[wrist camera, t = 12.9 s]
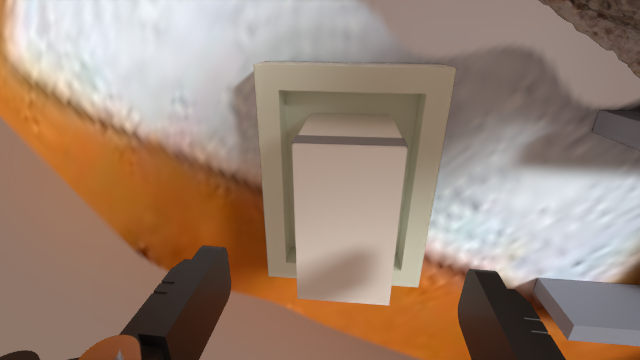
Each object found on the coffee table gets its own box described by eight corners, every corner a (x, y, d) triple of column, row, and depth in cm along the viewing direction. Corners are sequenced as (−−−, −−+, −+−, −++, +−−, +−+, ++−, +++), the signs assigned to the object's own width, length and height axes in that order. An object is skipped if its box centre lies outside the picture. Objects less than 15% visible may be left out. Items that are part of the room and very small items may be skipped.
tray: (266, 61, 18) (253, 64, 16) (442, 64, 17) (456, 68, 15) (276, 252, 23) (268, 276, 21) (411, 262, 23) (418, 287, 20)
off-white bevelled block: (309, 112, 18) (290, 143, 13) (392, 113, 18) (409, 147, 12) (311, 232, 21) (296, 299, 16) (380, 236, 21) (389, 306, 16)
